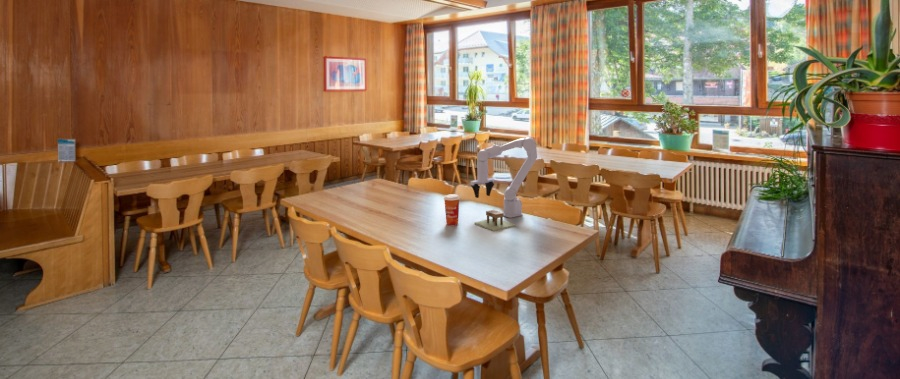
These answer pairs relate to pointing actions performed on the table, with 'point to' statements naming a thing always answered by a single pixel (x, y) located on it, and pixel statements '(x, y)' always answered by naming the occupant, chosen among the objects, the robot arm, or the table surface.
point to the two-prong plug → (495, 216)
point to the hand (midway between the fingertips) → (482, 196)
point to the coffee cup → (452, 209)
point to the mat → (492, 225)
